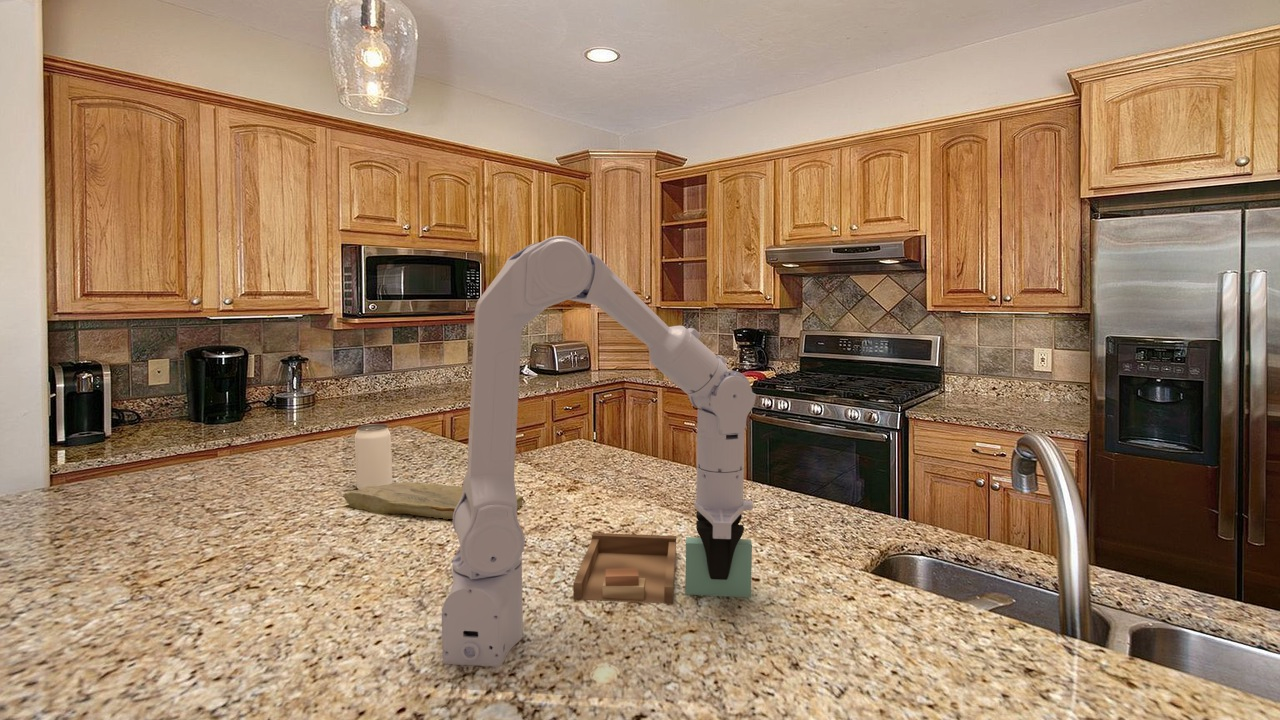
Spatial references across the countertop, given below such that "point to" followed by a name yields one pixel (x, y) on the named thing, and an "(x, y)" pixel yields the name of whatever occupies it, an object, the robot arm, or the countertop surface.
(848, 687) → the countertop surface
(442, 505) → the stone slab
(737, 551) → the block
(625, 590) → the offcut lower
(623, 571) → the offcut upper
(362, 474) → the can
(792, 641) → the countertop surface
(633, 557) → the tray
